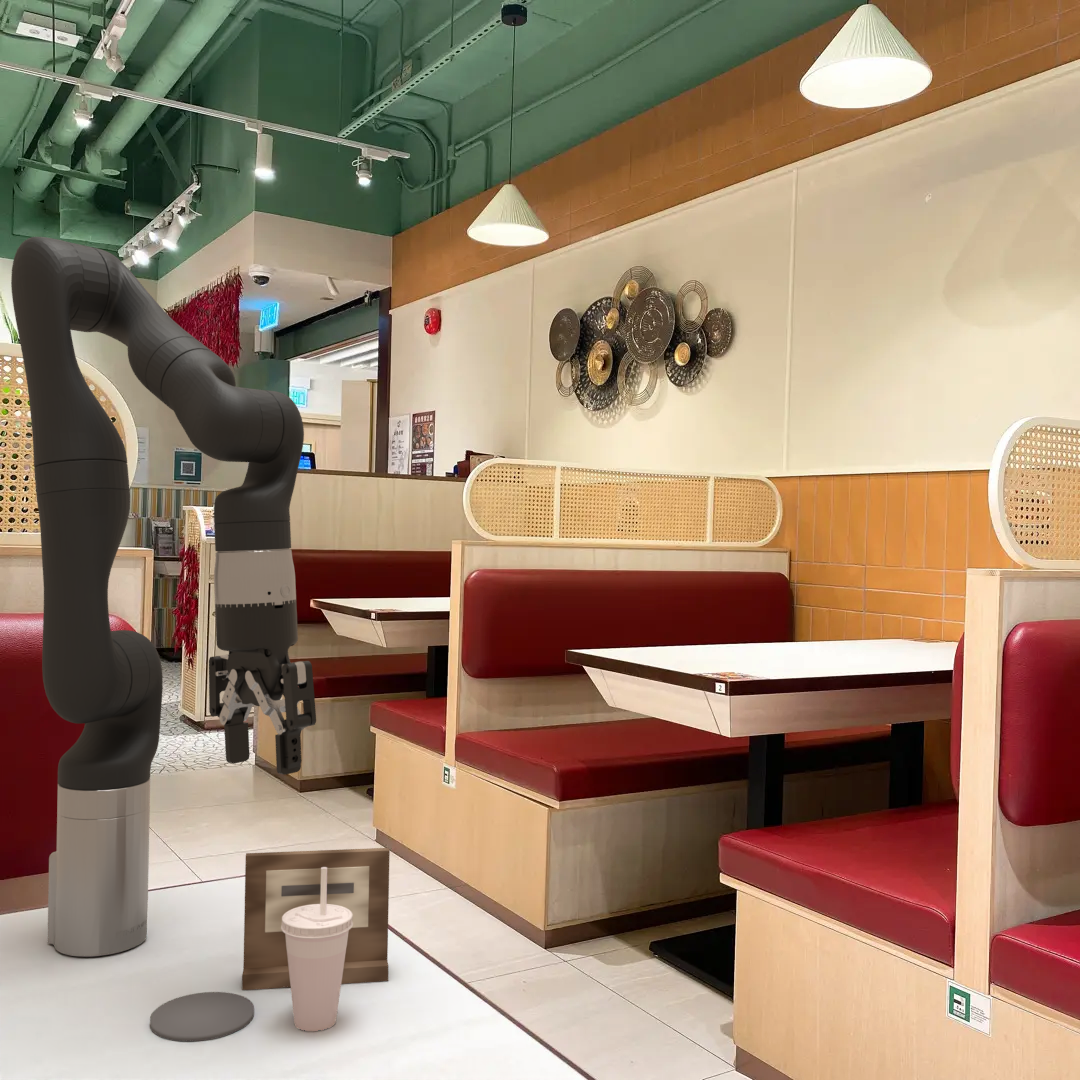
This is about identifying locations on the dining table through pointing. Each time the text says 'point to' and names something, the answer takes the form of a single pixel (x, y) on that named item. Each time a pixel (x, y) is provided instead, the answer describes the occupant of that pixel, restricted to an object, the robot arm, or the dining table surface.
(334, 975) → the smoothie
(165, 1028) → the coaster
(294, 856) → the placard
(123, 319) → the robot arm
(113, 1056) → the dining table surface
